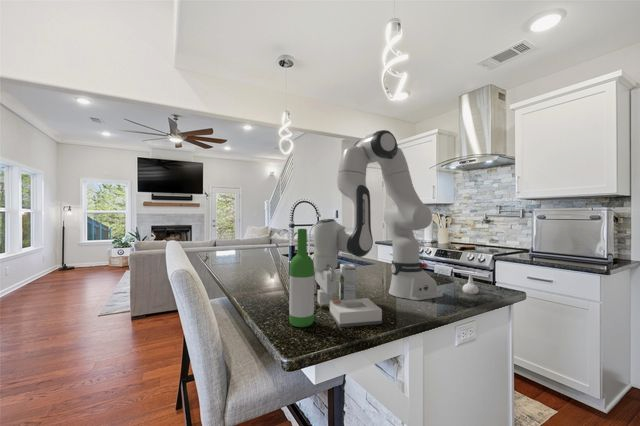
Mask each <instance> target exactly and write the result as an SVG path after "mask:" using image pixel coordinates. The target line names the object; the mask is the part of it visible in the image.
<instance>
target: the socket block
mask: <svg viewBox="0 0 640 426" xmlns="http://www.w3.org/2000/svg"><path fill="white" fill-rule="evenodd" d="M329 315H330V317H332V319H333V320H334V322H335V323H336V324H337V325H338V327H339V328H348V327H357V326H370V325H372V326H373V325H380V324H383V323H382V321H383V309H382V308H380V307H379V306H378V305H377V304H375V302H373V301H372V300H370V299H369V298H368V297H366V298H365V297H364V298H355V299H346V300H339V298H335V299H334V298H333V300H330V308H329Z"/></svg>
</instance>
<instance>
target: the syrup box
mask: <svg viewBox="0 0 640 426" xmlns="http://www.w3.org/2000/svg"><path fill="white" fill-rule="evenodd" d="M338 284H339V287H338V290H339V293H338V294H339V295H338V299H339V300H346V299H357V298H356V297H357V295H356V294H357V293H356V290H357V287H356V285H357V266H355V265H354V264H352V263H340V264H339V283H338Z"/></svg>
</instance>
